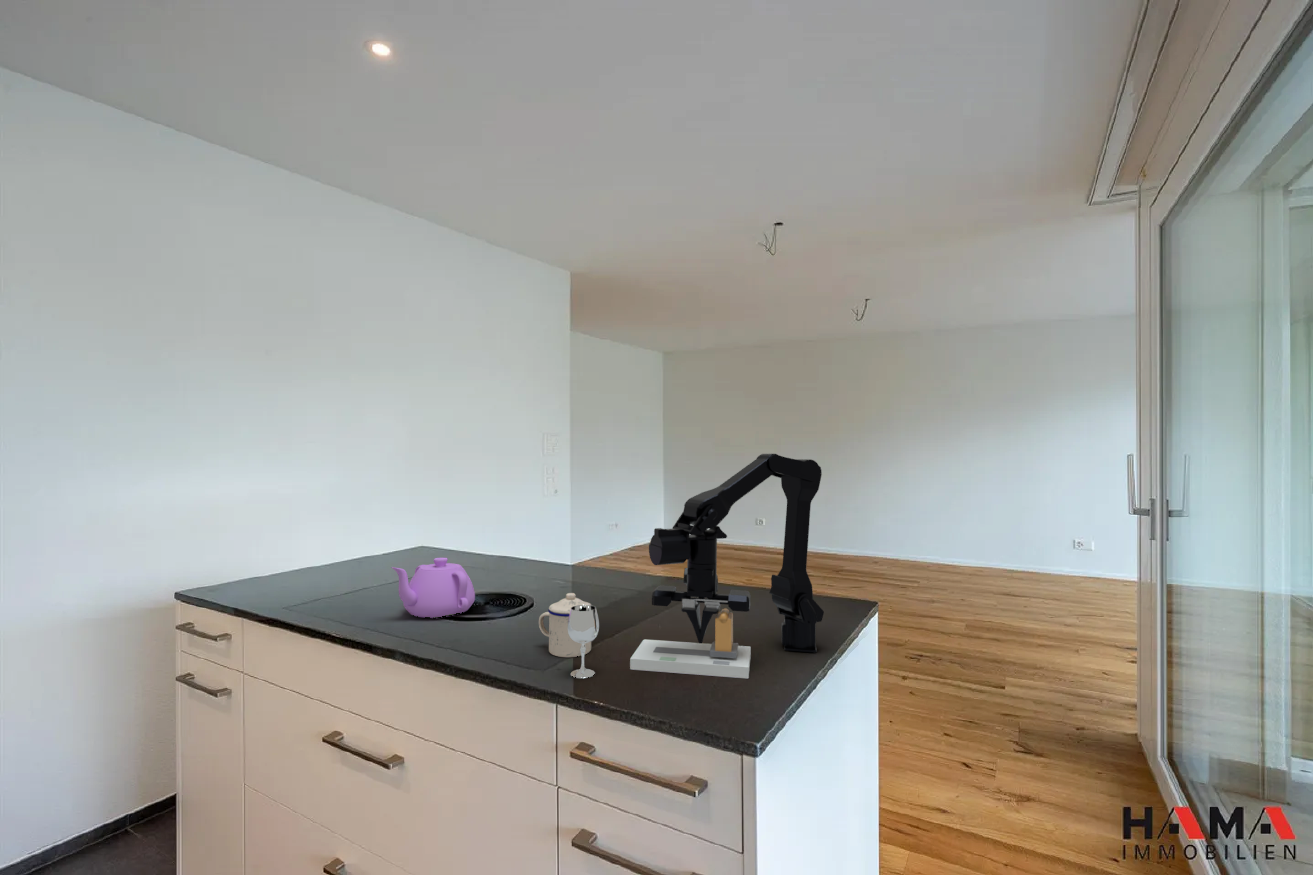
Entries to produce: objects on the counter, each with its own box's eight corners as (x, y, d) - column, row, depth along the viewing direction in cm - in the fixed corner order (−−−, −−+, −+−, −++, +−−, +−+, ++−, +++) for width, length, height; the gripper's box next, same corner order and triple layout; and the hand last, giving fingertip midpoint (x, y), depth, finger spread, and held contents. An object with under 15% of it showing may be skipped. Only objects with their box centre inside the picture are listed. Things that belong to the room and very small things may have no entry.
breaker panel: (750, 656, 118) (750, 645, 118) (748, 678, 106) (748, 666, 106) (643, 648, 122) (643, 638, 122) (630, 669, 110) (630, 658, 110)
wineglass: (568, 668, 110) (568, 604, 111) (598, 667, 111) (599, 603, 111) (565, 680, 105) (566, 612, 105) (598, 679, 105) (598, 611, 105)
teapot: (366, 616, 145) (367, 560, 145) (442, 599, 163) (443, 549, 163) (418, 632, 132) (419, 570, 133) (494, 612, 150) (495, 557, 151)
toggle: (738, 648, 115) (738, 608, 116) (736, 658, 109) (736, 616, 110) (712, 646, 116) (712, 606, 116) (709, 656, 110) (709, 614, 111)
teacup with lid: (599, 647, 123) (600, 591, 123) (578, 660, 115) (579, 600, 115) (550, 640, 127) (551, 586, 128) (526, 653, 119) (527, 595, 119)
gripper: (751, 557, 120) (750, 634, 120) (662, 552, 124) (661, 627, 123) (749, 567, 109) (748, 651, 109) (651, 562, 113) (650, 643, 113)
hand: (700, 642), depth 114 cm, fingers closed
